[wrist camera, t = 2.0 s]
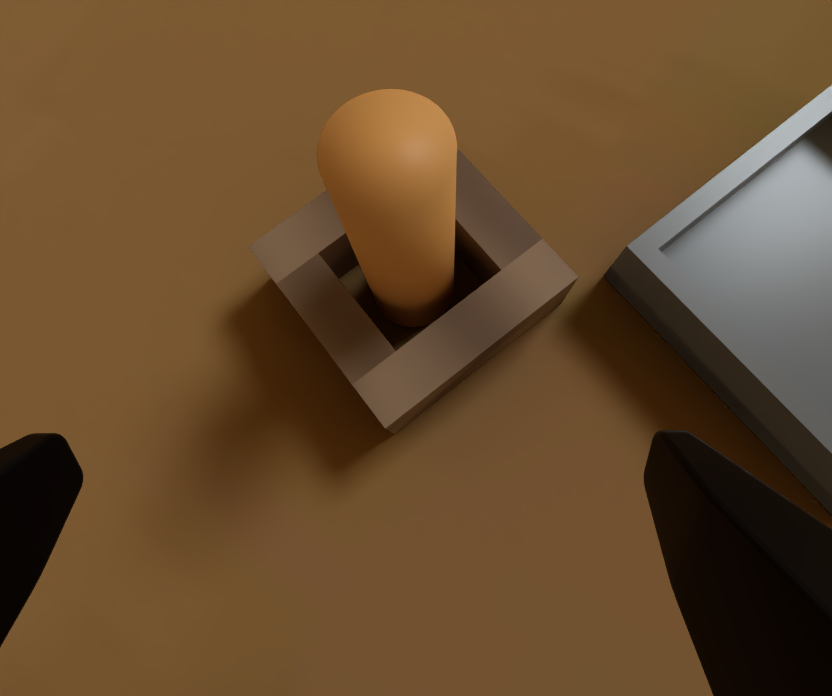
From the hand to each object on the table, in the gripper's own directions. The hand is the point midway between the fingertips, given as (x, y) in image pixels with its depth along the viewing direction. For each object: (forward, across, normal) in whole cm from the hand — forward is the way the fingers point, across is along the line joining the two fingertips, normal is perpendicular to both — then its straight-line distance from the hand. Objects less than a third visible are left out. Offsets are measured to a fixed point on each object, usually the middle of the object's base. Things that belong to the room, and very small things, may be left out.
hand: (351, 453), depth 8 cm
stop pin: (+15, 0, +4) cm, 15 cm away
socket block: (+15, 0, +4) cm, 15 cm away
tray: (+14, -17, +4) cm, 23 cm away
